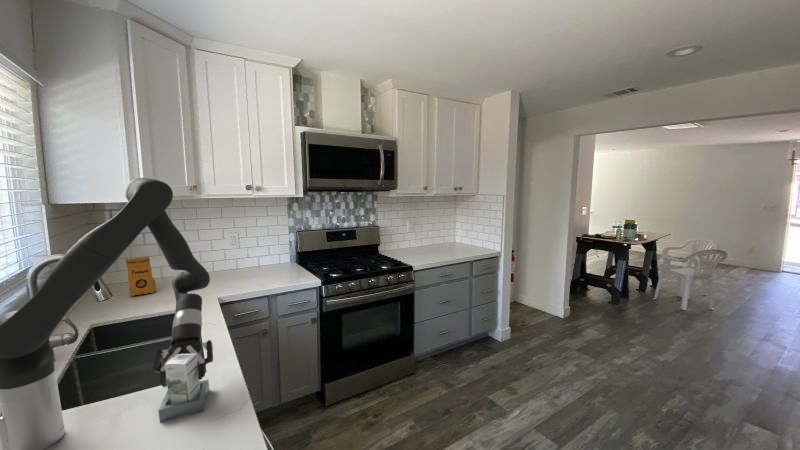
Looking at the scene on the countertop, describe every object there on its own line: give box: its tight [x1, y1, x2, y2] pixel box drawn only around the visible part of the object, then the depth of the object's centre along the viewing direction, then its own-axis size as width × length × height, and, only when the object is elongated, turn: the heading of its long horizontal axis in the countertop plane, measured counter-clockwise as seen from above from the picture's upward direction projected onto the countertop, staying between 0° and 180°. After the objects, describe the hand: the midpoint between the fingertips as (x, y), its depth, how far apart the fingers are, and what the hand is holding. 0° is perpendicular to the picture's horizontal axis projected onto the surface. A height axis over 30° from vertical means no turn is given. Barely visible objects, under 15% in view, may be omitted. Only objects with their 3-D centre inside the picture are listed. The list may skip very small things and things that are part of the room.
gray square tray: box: [157, 379, 211, 423], centre depth 92 cm, size 10×10×4 cm
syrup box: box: [164, 353, 201, 405], centre depth 92 cm, size 6×6×14 cm
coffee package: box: [125, 256, 157, 297], centre depth 188 cm, size 10×12×22 cm
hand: (182, 382), depth 90 cm, fingers open, 8 cm apart
